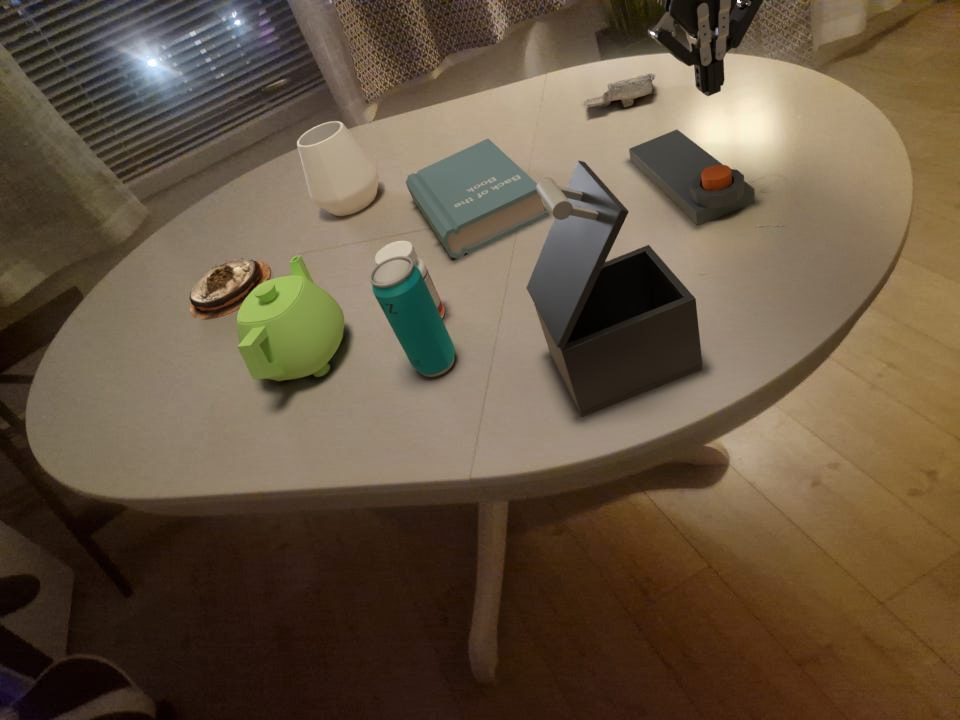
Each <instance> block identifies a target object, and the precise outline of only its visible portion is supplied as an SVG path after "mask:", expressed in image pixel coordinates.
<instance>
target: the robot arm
mask: <svg viewBox="0 0 960 720" xmlns="http://www.w3.org/2000/svg"><path fill="white" fill-rule="evenodd" d="M763 2H764V0H665V2H664V11H665V12H664V14H663V15H662V16H661V18H660V19H659V21H658V22H657V24H651V25H650V26H649V27H648V29H647V35H648V36H649V37H650V38H651V39H652V40H653V41H655V42H656V43H657V44H658V45H660V46H661V48H663V49H664V50H665V51H667V52H668V53H669V54H670V55H671V56H672V57H674V58H675V59H676V60H677V61H679V62H680V63H682V64H684V65H686V66H688V67H692V66H693V68H694V69H693V70H694V80H695V81H694V82H695V83H694V84H695V87H696V89H697V90H698V91H699V92H701V94H703V95H704V96H706V97H710V96H713V95H715V94H718V93H720V92H721V90H722V86H724V83H725V62H724V58H725V57H726V56H727V53H728V52H729V51H730V50H731V49H737V48H738V47H739V46H740V45H741V43H742V41H743V40H744V37H745V35H746V34H747V32H748V30H749V28H750V26H751V24H752V23H753V20H754V18H755V17H756V15H757V13H758V11H759V10H760V7H761V5H762V4H763ZM674 23H675V24H676V25H677V26H679V27H680V29H682V30H683V31H684V32H685V36H686V40H687V41H688V44H689V49H688V48H687V47H686V46H685V45H683V43H682V42H680V41H679V40H678V39H677V38H676V37H675V36H676V34H677V29H676V28H675V26H674Z"/></svg>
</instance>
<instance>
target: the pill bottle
mask: <svg viewBox="0 0 960 720" xmlns="http://www.w3.org/2000/svg"><path fill="white" fill-rule="evenodd" d="M396 256H406V257H409V258H410V259H411V260H412V261H413V264H414V265H415V266H416V267H417V268H419V270H420V272H421V274H422V276H423V279H424V281H425V283H426V285H427V287H428V290H429V292H430V294H431V296H432V298H433V301H434V303H435V305H436V307H437V309H438V311H439V314H440V316H441V318H442V319H444V315H445V307H444V304H443V302H442V299H441V297H440V295H439V293H438V291H437V289H436V286H435V283H434V281H433V279H432V277H431V275H430V273H429V270H428V267H427V265H426V263H425V262H424V260H423V259H421V258H420V257H419V256H418V253H417V251H416V250H415V248H414V245H413V244H412V242H410V241H408V240H397V241H392V242H391V243H388V244H386V245H384V246H383V247H382V248H380V249H379V250H378V251H377V253H376V254H375V256H374V262H375V264H376V266H377V265H378V264H380V263H381V262H383V261H385V260H387V259H389V258H392V257H396Z"/></svg>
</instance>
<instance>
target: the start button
mask: <svg viewBox="0 0 960 720" xmlns="http://www.w3.org/2000/svg"><path fill="white" fill-rule="evenodd" d="M731 169H732V168H731V167H730V166H728V165H726V164H723V165H713V166H710V167H708V168H706V169H705V170H703V172H702V174H701V176H702V187H703V188H704V189H705V190H707V191H718V190H723V189H725V188H728V187H729V186H730V185H731V183H732V174H731Z"/></svg>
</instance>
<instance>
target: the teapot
mask: <svg viewBox="0 0 960 720" xmlns="http://www.w3.org/2000/svg"><path fill="white" fill-rule="evenodd" d="M289 265H290V274H291V275H284V276H278V277H275V278H269V280H267V281H265V282H263V283H261V284H260V285H258V286H257V287H256V288H255V289H253V290H252V291H251V293H250V294H249V295H248V296H247V297H246V299H245V300H244V301H243V303H242V305H241V307H240V308H239V309H238V312H237V316H236V327H237V336H238V341H239V344H238V345H237V349H238V351H239V354H240V355H241V357H242V359H243V361H244V363H245V366H246V368H247V370H248V372H249V374H250V376H251V378H252V380H261V379H262V380H263V379H264V380H265V379H268V380H272V381H276V382H282V381H289V380H297V379H300V378H305V377H308V376H310V375H313V376H314V377H316V378H319V377H323V376H325V375H326V374H327V373H328V372H330V369H331V365H330V363H328V362H330V360H331V359H332V358H333V356H335V354H336V352H337V351H338V349H339V347H340V344H341V342H342V340H343V338H344V330H345V315H344V311H343V309H342V307H341V306H340V304H339V303H338V302H337V300H336V298H334V297H333V296H332V295H331V294H330V293H329V292H327V291H326V290H325V289H324V288H323V287H321V286H320V285H319V284H317V283H315V282H314V279H313V278H312V276H311V272H310V271H309V269H308V267H307V265H306V263H305V261H304V258H303V256H302V255H301V254H299V255H294V256H292V258H291V260H290V261H289Z"/></svg>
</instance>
